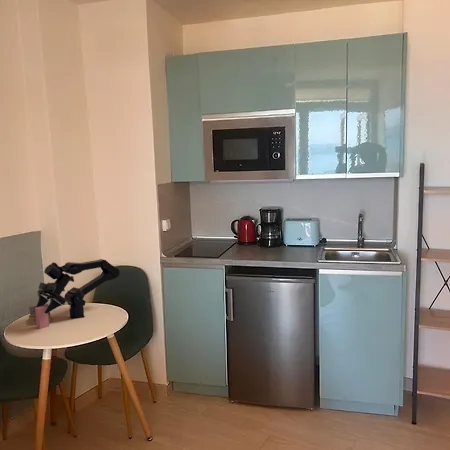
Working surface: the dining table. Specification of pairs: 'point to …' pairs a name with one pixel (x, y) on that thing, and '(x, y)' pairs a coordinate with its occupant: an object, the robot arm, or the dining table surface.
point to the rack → (33, 316)
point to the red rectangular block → (41, 317)
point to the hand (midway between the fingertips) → (40, 311)
